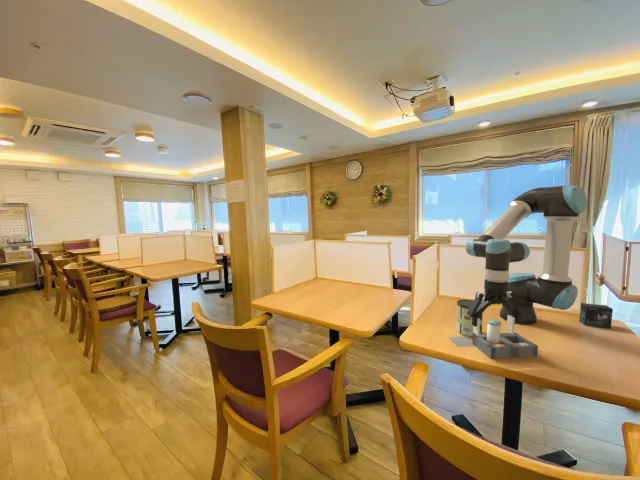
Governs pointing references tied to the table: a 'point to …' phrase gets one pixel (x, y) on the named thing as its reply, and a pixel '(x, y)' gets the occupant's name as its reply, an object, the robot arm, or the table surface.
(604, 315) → the box
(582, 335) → the table surface
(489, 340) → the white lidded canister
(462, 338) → the mat
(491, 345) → the socket box
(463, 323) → the coffee can
